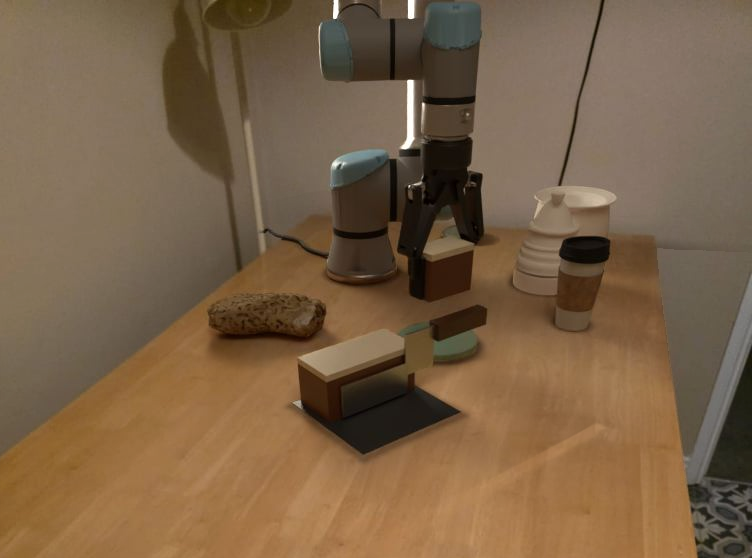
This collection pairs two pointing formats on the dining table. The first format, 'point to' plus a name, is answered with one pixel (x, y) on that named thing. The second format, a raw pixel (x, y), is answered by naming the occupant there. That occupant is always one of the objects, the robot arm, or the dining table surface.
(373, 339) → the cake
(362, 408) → the square cleaver
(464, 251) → the cake slice
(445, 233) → the lid
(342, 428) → the cake board
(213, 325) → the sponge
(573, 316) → the coffee cup
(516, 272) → the honey pot
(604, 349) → the dining table surface
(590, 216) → the pot
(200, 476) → the dining table surface
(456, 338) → the serving plate
